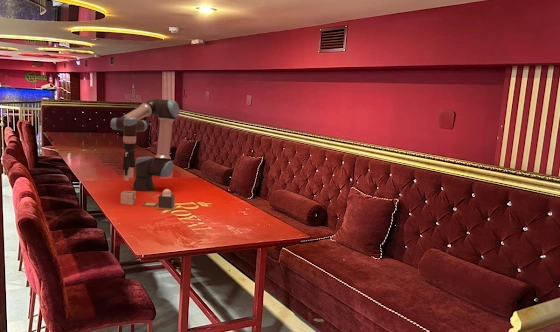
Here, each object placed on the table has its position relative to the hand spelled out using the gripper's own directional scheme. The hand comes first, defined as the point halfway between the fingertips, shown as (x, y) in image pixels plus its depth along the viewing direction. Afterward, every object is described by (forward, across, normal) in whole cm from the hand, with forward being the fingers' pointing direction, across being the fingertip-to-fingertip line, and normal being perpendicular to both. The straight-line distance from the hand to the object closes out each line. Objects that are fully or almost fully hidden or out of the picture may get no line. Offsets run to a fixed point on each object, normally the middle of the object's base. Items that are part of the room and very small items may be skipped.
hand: (128, 178), depth 292 cm
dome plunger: (+13, +4, +25) cm, 29 cm away
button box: (+15, +4, +25) cm, 30 cm away
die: (+15, 0, 0) cm, 15 cm away
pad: (+15, 0, +14) cm, 21 cm away
